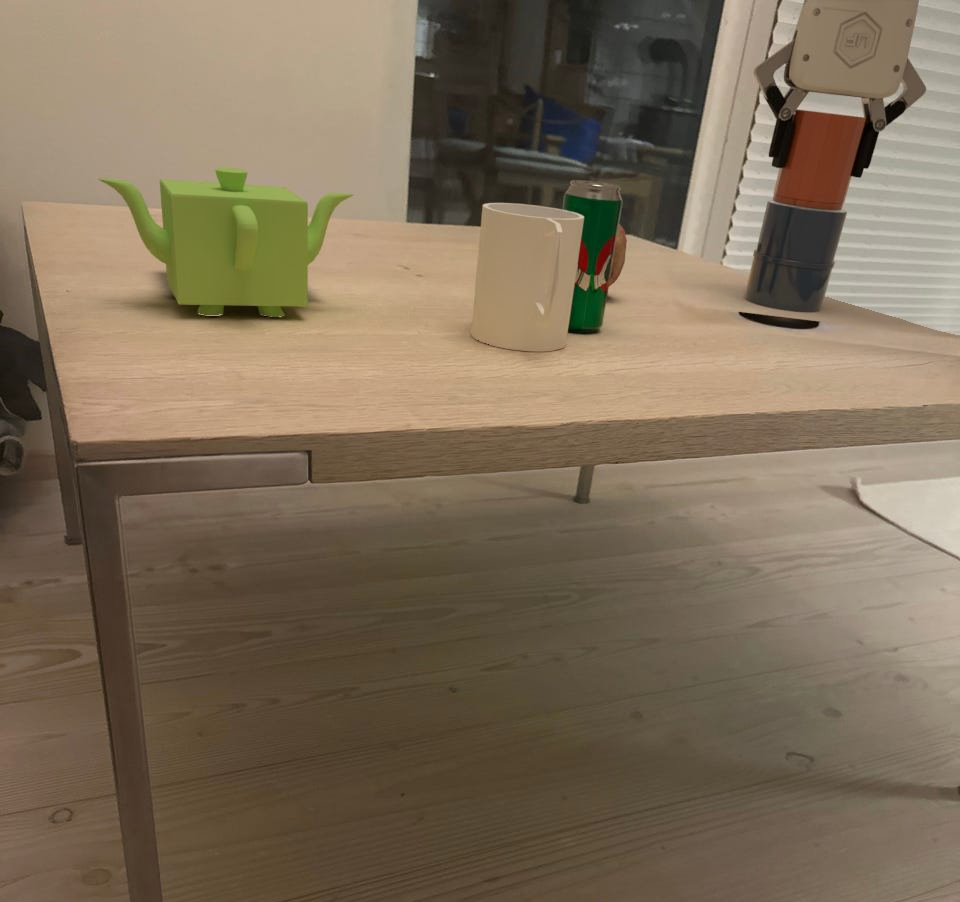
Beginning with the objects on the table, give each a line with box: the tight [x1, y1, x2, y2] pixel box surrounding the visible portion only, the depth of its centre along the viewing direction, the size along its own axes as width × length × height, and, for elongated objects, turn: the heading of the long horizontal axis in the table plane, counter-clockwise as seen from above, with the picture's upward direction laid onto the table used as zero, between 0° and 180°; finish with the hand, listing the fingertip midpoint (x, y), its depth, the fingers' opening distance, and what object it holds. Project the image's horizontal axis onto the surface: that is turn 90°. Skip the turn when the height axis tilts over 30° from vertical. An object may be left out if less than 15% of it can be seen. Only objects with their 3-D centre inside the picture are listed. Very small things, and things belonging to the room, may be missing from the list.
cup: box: [470, 202, 584, 353], centre depth 75 cm, size 8×12×10 cm
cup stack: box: [738, 199, 848, 330], centre depth 95 cm, size 8×8×11 cm
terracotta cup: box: [772, 109, 868, 210], centre depth 90 cm, size 7×7×8 cm
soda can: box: [561, 179, 624, 334], centre depth 82 cm, size 5×5×12 cm
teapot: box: [97, 167, 354, 317], centre depth 76 cm, size 15×13×11 cm
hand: (815, 170), depth 91 cm, fingers closed on terracotta cup, 6 cm apart
